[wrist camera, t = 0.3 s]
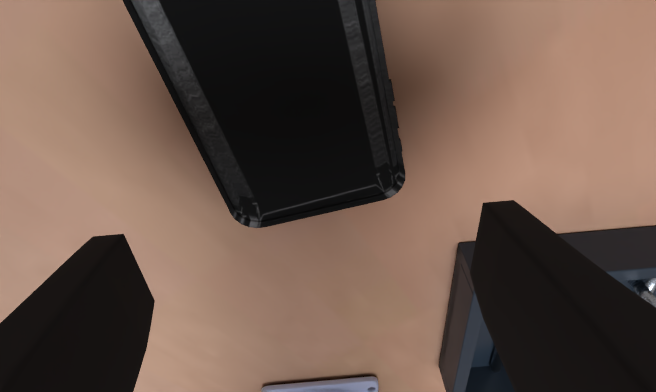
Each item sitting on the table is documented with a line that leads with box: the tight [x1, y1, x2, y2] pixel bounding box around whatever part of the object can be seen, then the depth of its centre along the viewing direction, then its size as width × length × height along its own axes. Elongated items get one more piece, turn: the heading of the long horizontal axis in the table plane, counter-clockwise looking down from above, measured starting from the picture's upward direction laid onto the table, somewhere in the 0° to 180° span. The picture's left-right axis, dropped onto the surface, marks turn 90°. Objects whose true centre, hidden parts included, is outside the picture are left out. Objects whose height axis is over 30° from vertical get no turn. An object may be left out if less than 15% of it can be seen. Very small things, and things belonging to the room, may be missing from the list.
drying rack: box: [439, 226, 656, 392], centre depth 25 cm, size 12×18×4 cm, turn 94°
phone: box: [123, 0, 405, 228], centre depth 16 cm, size 8×1×15 cm
